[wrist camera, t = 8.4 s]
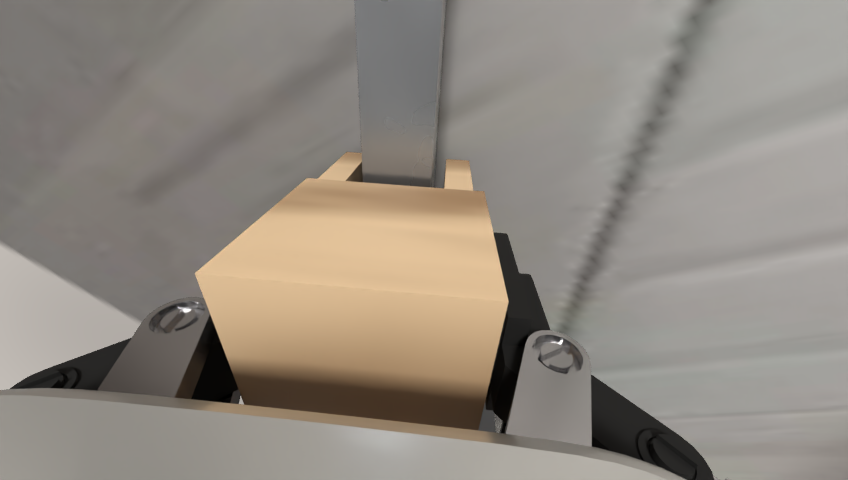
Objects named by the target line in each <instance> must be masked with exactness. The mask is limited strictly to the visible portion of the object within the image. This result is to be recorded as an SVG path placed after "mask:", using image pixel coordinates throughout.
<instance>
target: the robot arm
mask: <svg viewBox="0 0 848 480" xmlns="http://www.w3.org/2000/svg"><path fill="white" fill-rule="evenodd" d="M493 234H494V238H495V243H496V247H497V252H498V256H499V261H500V265H501V270H502V274H503V279H504V283H505V288H506V292H507V297H508V301H509V302H508V306H507V311H506V315H505V319H504V323H503V328H502V332H501V336H500V340H499V344H498V349H497V353H496V357H495V361H494V366H493V370H492V374H491V378H490V383H489V387H488V391H487V395H486V400H485V405H486V410H492V411H493V412H494V413H495V414H496V415H497V416H498V417H499V418H500V419H501V420H502V421H503V422H502V426H501V430H500V433H495V432H487V431H478V430H469V429H460V428H452V427H443V426H434V425H425V424H416V423H408V422H399V421H390V420H381V419H372V418H363V417H354V416H344V415H335V414H326V413H317V412H307V411H298V410H289V409H279V408H270V407H261V406H251V405H241V404H239V399H240V396H241V394H240V392H239V389H238V386H237V384H236V381H235V378H234V376H233V373H232V370H231V368H230V365H229V362H228V360H227V357H226V354H225V352H224V349H223V347H222V344H221V341H220V339H219V336H218V333H217V331H216V328H215V325H214V323H213V320H212V317H211V315H210V312H209V309H208V307H207V304H206V301H205V299H204V298H199V297H188V298H182V299H177V300H175V301H172V302H169V303H166V304H164V305H162V306H160V307H158V308H157V309H155V310H154V311H153V312H151V313H150V314H149V315H148V316H147V317H146V318H145V319H144V320H143V322H142V323H141V325H140V326H139V328H138V329H137V331H136V332H135V334H134V336H133V337H132V338H130V339H127V340H125V341H122V342H119V343H116V344H113V345H111V346H108V347H105V348H103V349H100V350H97V351H94V352H92V353H89V354H86V355H83V356H80V357H78V358H75V359H72V360H69V361H67V362H64V363H61V364H59V365H56V366H53V367H51V368H48V369H45V370H43V371H40V372H38V373H35V374H33V375H31V376H29V377H27V378H25V379H24V380H22V381H21V382H19V383H17V384H16V385H14V386H13V387H12V388H10V389H7V390H0V480H719V479H718V478H716V477H715V476H713V474H712V471H711V469H710V468H709V466H708V465H707V463H706V461H705V460H704V458H703V457H702V456H701V455H700V454H699V453H698V452H697V450H696V449H695V448H694V447H693V446H692V445H691V444H689V443H688V442H687V441H686V440H684V439H683V438H682V437H681V436H679V435H678V434H676V433H675V432H674V431H672V430H671V429H669V428H668V427H666V426H665V425H663V424H662V423H661V422H659V421H658V420H656V419H655V418H653V417H652V416H650V415H649V414H648V413H646V412H645V411H643V410H642V409H640V408H639V407H637V406H636V405H635V404H633V403H632V402H630V401H629V400H627V399H626V398H624V397H623V396H621V395H620V394H619V393H617V392H616V391H614V390H613V389H611V388H610V387H608V386H607V385H606V384H604V383H603V382H601V381H600V380H598V379H597V378H595V377H594V376H593V375H591V363H590V358H589V356H588V354H587V352H586V351H585V349H584V348H583V347H582V346H581V345H580V344H579V343H578V342H577V341H575V340H574V339H572V338H571V337H569V336H567V335H565V334H563V333H560V332H556V331H552V330H550V328H549V325H548V322H547V319H546V316H545V313H544V311H543V308H542V305H541V302H540V299H539V296H538V293H537V291H536V288H535V285H534V282H533V279H532V277H531V275H529V274H521V273H519V272H518V268H517V265H516V262H515V258H514V255H513V251H512V248H511V245H510V241H509V238H508V235H507V234H505V233H493ZM725 480H730V479H728V478H726V479H725Z"/></svg>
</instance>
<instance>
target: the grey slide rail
mask: <svg viewBox="0 0 848 480" xmlns="http://www.w3.org/2000/svg"><path fill="white" fill-rule="evenodd" d="M354 3H355V25H356V46H357V67H358V88H359V109H360V130H361V151H362V173H363V182H365V183H378V184H391V185H404V186H418V187H431V188H434V174H435V160H436V145H437V130H438V116H439V101H440V86H441V72H442V57H443V42H444V28H445V13H446V0H354Z"/></svg>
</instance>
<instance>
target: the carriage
mask: <svg viewBox="0 0 848 480" xmlns="http://www.w3.org/2000/svg"><path fill="white" fill-rule="evenodd" d="M195 275H196V278H197V280H198V283H199V286H200V288H201V291H202V293H203V296H204V299H205V301H206V304H207V307H208V309H209V312H210V315H211V317H212V320H213V323H214V325H215V328H216V331H217V333H218V336H219V339H220V341H221V344H222V347H223V349H224V352H225V354H226V357H227V360H228V362H229V365H230V368H231V370H232V373H233V376H234V378H235V381H236V384H237V386H238V389H239V392H240V394H241V397H242V400H243V402H244V405H251V406H261V407H270V408H279V409H289V410H298V411H307V412H317V413H326V414H335V415H344V416H354V417H363V418H372V419H381V420H390V421H399V422H408V423H416V424H425V425H434V426H443V427H452V428H460V429H469V430H478V429H479V425H480V421H481V417H482V412H483V408H484V404H485V400H486V395H487V391H488V387H489V383H490V378H491V374H492V370H493V366H494V361H495V357H496V353H497V349H498V344H499V340H500V336H501V332H502V328H503V323H504V319H505V315H506V311H507V306H508V302H509V301H508V297H507V292H506V288H505V283H504V279H503V274H502V270H501V265H500V261H499V256H498V252H497V247H496V243H495V238H494V234H493V229H492V225H491V220H490V216H489V211H488V207H487V202H486V198H485V193H484V191H473V186H472V179H471V172H470V165H469V161H465V160H451V159H446V170H445V181H444V188H431V187H418V186H404V185H391V184H378V183H365V182H363V173H362V153H353V152H346V153H345V154H344V155H343V156H342V157H341V158H340V159H339V160H337V161H336V162H335V163H334V164H333V165H332V166H331V167H330V168H329V169H328V170H327V171H326V172H324V173H323V174H322V175H321V176H320V177H319V178H318V179H312V178H307V179H305V180H304V181H303V182H302V183H301V184H300V185H298V186H297V187H296V188H295V189H294V190H292V191H291V192H290V193H289V194H288V195H287V196H285V197H284V198H283V199H282V200H281V201H280V202H278V203H277V204H276V205H275V206H274V207H272V208H271V209H270V210H269V211H268V212H267V213H265V214H264V215H263V216H262V217H261V218H260V219H258V220H257V221H256V222H255V223H254V224H252V225H251V226H250V227H249V228H248V229H247V230H245V231H244V232H243V233H242V234H241V235H239V236H238V237H237V238H236V239H235V240H234V241H232V242H231V243H230V244H229V245H228V246H227V247H225V248H224V249H223V250H222V251H221V252H219V253H218V254H217V255H216V256H215V257H214V258H212V259H211V260H210V261H209V262H208V263H207V264H205V265H204V266H203V267H202V268H201V269H199V270H198V271H197V272H196V273H195Z"/></svg>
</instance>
